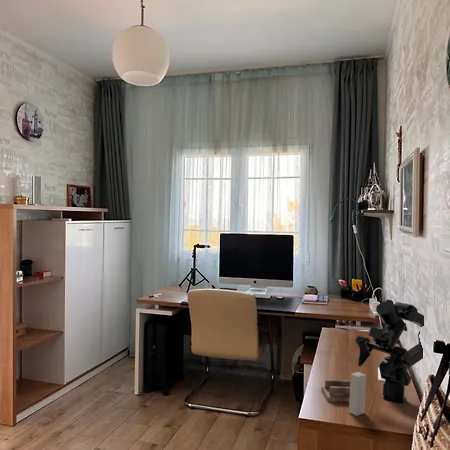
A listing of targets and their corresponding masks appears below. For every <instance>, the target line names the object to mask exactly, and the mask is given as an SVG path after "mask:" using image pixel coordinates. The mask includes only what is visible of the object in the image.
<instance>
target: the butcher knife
mask: <svg viewBox="0 0 450 450" xmlns="http://www.w3.org/2000/svg"><path fill="white" fill-rule="evenodd" d="M377 379H378V382H385V379H382V378H381V375H380V369H379V366H378V367H377Z"/></svg>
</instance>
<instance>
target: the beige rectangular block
mask: <svg viewBox="0 0 450 450" xmlns="http://www.w3.org/2000/svg"><path fill="white" fill-rule="evenodd" d="M349 378H350V399H349V402H348V412H349V414H352V415H354V416H356V417H357V416H358V417H359V416H360V415H364V414H365V405H366V390H367V388H366V386H367V374H365V373H363V372H360V371H357V372H353V373H350V377H349Z"/></svg>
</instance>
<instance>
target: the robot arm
mask: <svg viewBox="0 0 450 450" xmlns="http://www.w3.org/2000/svg"><path fill="white" fill-rule="evenodd" d="M375 311H376V313H377V315H378V316H379V318H380V320H381V321H382V323H383V324H385V326H384V327H383V328H378V327H375V326H370V327H369V328H370V329H369V332H368V336H369V337H371V338H372V341H373V342H371V339H370V338H369V337H367V336H362V335H358V336H357V337H356V338H355V340H354V342H355V343H356V345H357V346H358V348H359V357H358V363H357V364H358V365H357V366H358V367H360V368H361V367H362V366H363V365H364V364H365V363H366V361H367V359H368V358H369V357H370V356H371V352H373V350H375V351H378V352H381V353H383V354H384V353H385V354H388V355H387V356H385V357H383V360H382V361H381V362H380V363H379V366H378V367H379V369H380V375H381V378H382V379H385V382H384V383H383V385H382V386H383V387H382V390H383V391H382V396H383V399H384V400H386V401H391V402H395V403H399V404H404V403H405V399H406V397H407V396H406V386H407V387H409V385H410V384H411V382H412V381H411V380H412V376H411V375H410V374H409V371H408V370H409V369H410V368H412V366H414V365H416V364H417V363H419V362H420V361H421V360H423V359H424V358H423V348H422V345H421V342H420V338H419V334H420V330H418V334H417V339H418V344H416V345H414V346H413V347H411V348H410V349H408V350H407V348H404V347H401V346H397V345H399V344H400V341H399V340H400V338H401V336H402V334H403V332H408V327H407V323H406V322H405V321H408V322H411V323H413V324H414V325H417V326H418V327H419V328H420V327H422V326H424V316H425V315H424V314H422V313H420V312H419V311H418V308H417V307H416V306H415V305H413V304H409V303H404V302H399V301H395V303H394V300H392V299H388V298H387V299H386V300H385V301H382V302H381V303H379V304H377V306H375ZM404 320H405V321H404ZM374 342H375V343H374Z"/></svg>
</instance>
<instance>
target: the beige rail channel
mask: <svg viewBox="0 0 450 450" xmlns="http://www.w3.org/2000/svg"><path fill="white" fill-rule="evenodd" d="M320 390H321V393H322V394H323V396H324V398H325V400H326V402H329V403H333V402H335V403H349V399H350V380H349V379H348V380H346V379H327V378H326V379H325V380H324V386H321V389H320Z"/></svg>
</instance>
